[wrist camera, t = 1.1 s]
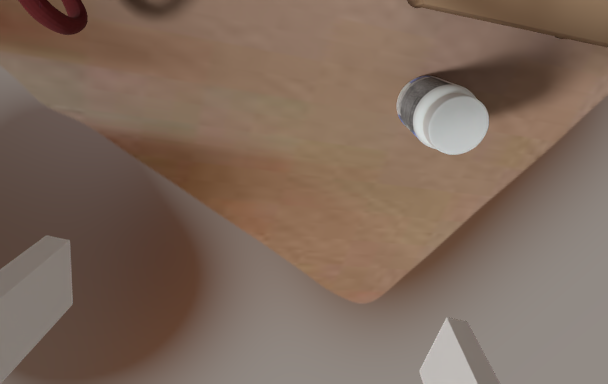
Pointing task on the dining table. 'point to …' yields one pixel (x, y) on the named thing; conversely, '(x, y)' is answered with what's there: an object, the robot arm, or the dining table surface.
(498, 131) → the dining table surface
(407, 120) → the pill bottle
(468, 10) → the small wooden bench
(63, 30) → the mug
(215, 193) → the dining table surface
